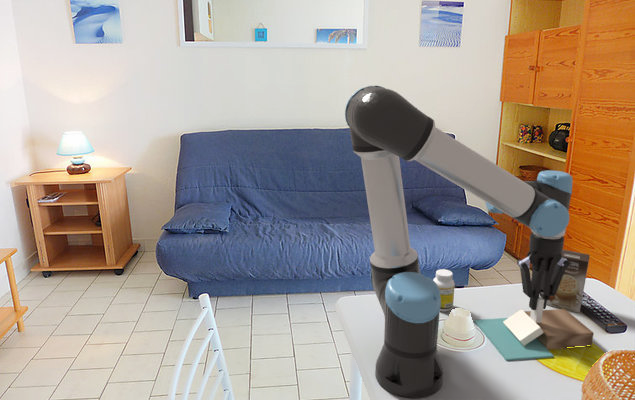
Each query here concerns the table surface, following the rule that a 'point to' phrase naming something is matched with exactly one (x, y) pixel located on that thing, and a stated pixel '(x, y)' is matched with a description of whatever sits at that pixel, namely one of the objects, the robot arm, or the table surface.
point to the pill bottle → (445, 288)
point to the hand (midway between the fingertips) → (535, 319)
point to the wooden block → (562, 330)
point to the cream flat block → (523, 327)
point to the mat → (511, 341)
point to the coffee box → (571, 282)
